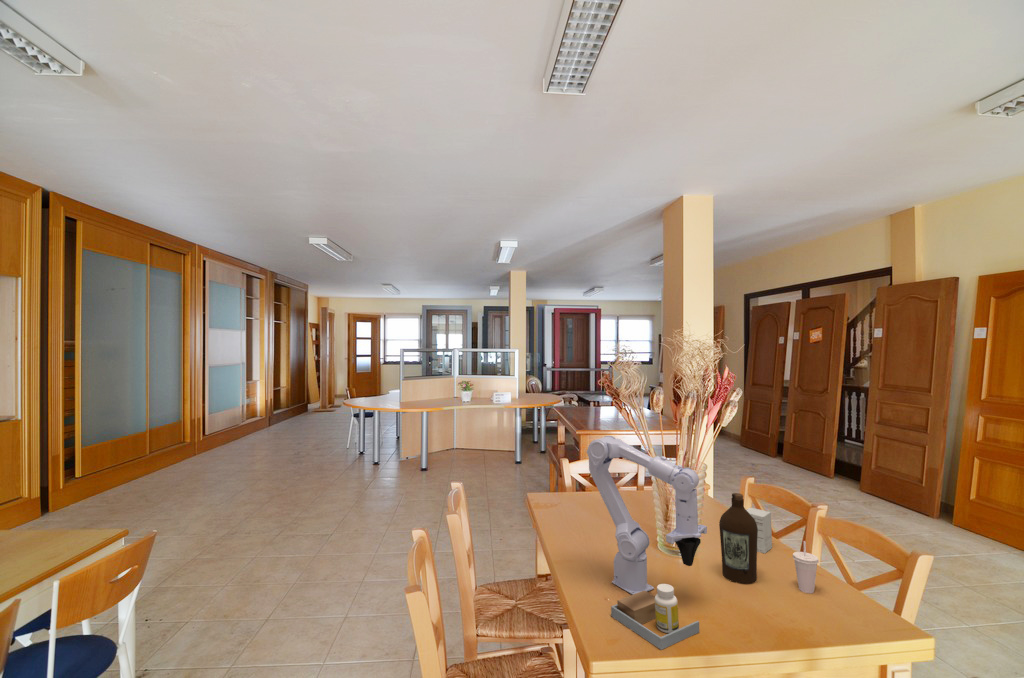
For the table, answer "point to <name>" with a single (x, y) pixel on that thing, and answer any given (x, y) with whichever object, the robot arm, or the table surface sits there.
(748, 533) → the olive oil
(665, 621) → the supplement bottle
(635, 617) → the block
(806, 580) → the smoothie
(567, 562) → the table surface
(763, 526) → the supplement box
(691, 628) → the grey bracket
